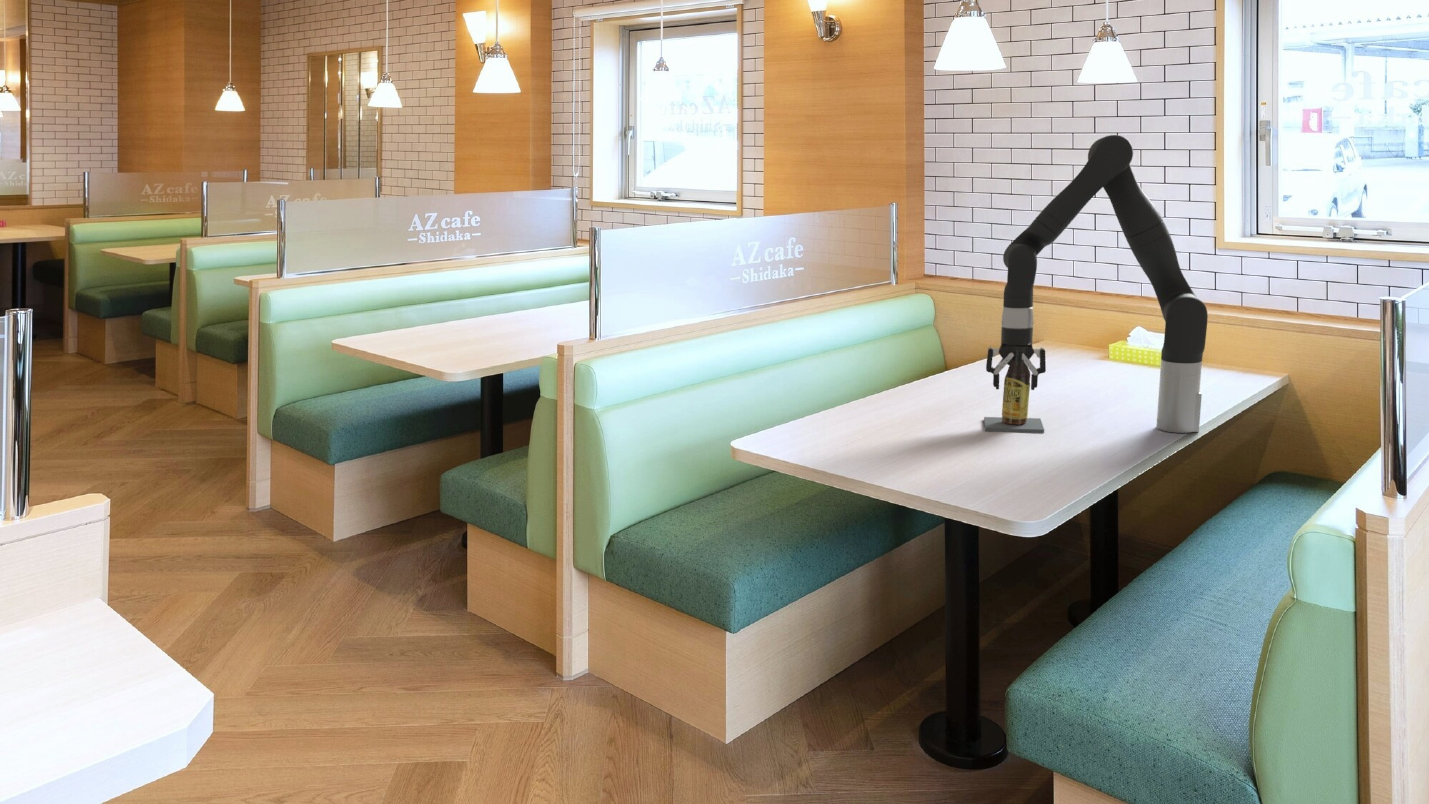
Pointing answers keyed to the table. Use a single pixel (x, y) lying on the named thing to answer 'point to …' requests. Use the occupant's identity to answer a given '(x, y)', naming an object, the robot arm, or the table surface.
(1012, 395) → the sauce bottle
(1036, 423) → the placemat
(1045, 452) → the table surface
